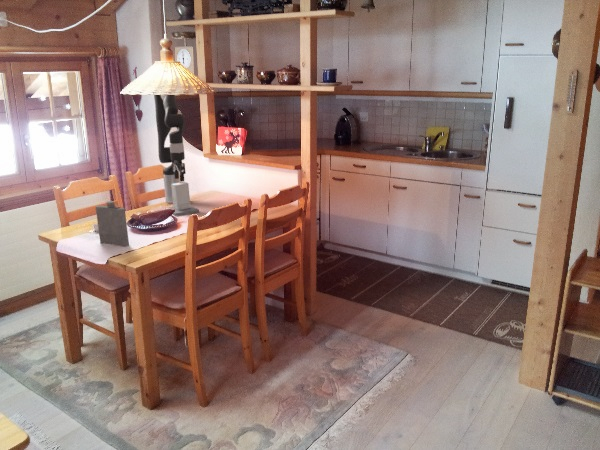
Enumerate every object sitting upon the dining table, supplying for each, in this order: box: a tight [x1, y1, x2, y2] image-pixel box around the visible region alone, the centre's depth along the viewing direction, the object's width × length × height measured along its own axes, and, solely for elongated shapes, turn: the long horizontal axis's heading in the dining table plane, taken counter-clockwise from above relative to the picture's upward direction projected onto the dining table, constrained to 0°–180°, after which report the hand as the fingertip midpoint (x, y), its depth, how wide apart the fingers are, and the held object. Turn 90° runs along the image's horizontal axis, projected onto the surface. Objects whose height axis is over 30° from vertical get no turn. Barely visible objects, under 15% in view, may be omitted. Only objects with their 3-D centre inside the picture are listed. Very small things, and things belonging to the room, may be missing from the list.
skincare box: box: [171, 181, 192, 211], centre depth 298 cm, size 8×6×15 cm
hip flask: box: [95, 200, 130, 247], centre depth 243 cm, size 16×4×20 cm, turn 67°
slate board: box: [166, 204, 200, 217], centre depth 300 cm, size 16×14×2 cm
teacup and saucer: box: [88, 222, 99, 234], centre depth 266 cm, size 9×8×4 cm
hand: (179, 179), depth 295 cm, fingers open, 8 cm apart
